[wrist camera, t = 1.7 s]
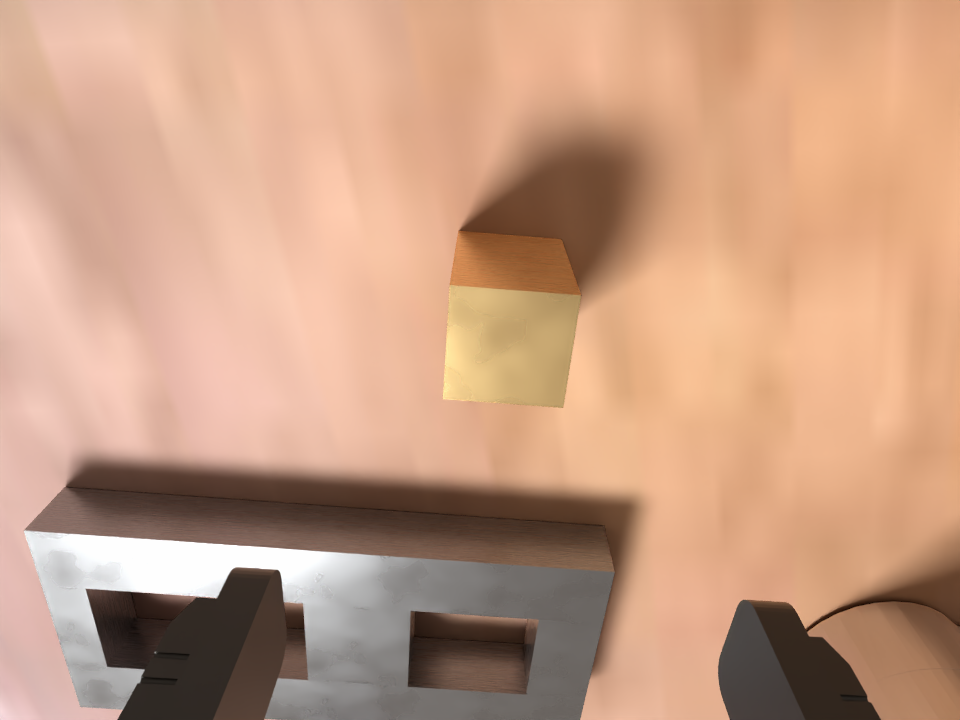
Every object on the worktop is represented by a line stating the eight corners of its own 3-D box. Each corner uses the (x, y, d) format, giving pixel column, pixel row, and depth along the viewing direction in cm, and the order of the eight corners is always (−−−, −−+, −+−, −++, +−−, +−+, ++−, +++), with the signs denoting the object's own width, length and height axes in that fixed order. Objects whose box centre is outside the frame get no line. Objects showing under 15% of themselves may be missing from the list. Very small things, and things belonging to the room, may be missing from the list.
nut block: (561, 239, 25) (581, 295, 19) (548, 332, 27) (563, 407, 21) (458, 230, 25) (449, 285, 19) (452, 325, 26) (442, 399, 21)
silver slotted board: (604, 525, 31) (614, 572, 28) (569, 687, 37) (575, 738, 34) (64, 487, 31) (23, 530, 28) (111, 656, 36) (80, 706, 33)
